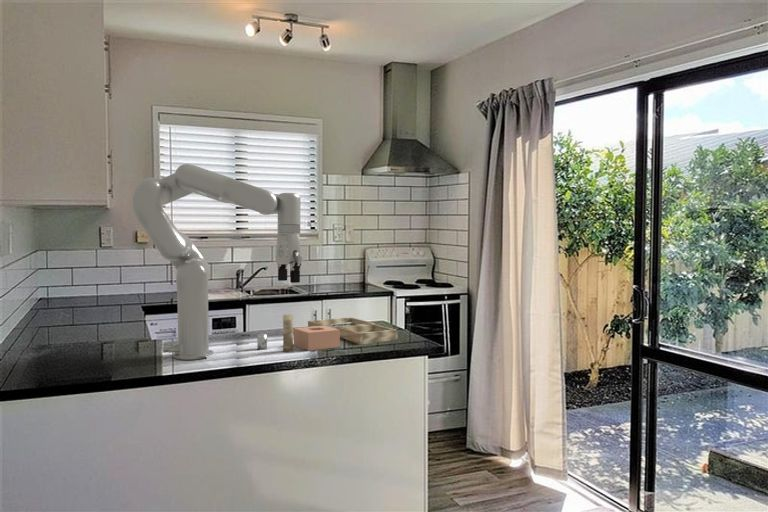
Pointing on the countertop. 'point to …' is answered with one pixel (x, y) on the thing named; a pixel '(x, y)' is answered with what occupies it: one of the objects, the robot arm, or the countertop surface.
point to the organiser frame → (359, 330)
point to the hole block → (316, 337)
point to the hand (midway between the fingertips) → (288, 281)
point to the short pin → (261, 341)
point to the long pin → (287, 333)
